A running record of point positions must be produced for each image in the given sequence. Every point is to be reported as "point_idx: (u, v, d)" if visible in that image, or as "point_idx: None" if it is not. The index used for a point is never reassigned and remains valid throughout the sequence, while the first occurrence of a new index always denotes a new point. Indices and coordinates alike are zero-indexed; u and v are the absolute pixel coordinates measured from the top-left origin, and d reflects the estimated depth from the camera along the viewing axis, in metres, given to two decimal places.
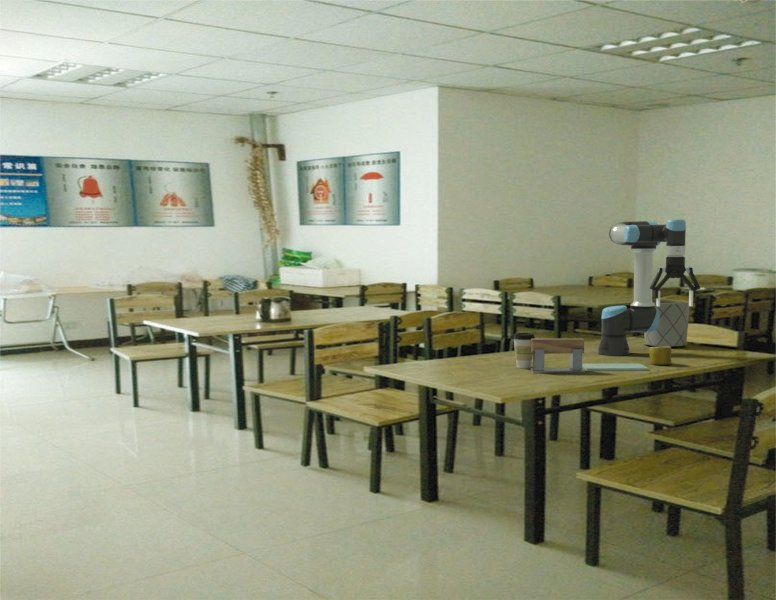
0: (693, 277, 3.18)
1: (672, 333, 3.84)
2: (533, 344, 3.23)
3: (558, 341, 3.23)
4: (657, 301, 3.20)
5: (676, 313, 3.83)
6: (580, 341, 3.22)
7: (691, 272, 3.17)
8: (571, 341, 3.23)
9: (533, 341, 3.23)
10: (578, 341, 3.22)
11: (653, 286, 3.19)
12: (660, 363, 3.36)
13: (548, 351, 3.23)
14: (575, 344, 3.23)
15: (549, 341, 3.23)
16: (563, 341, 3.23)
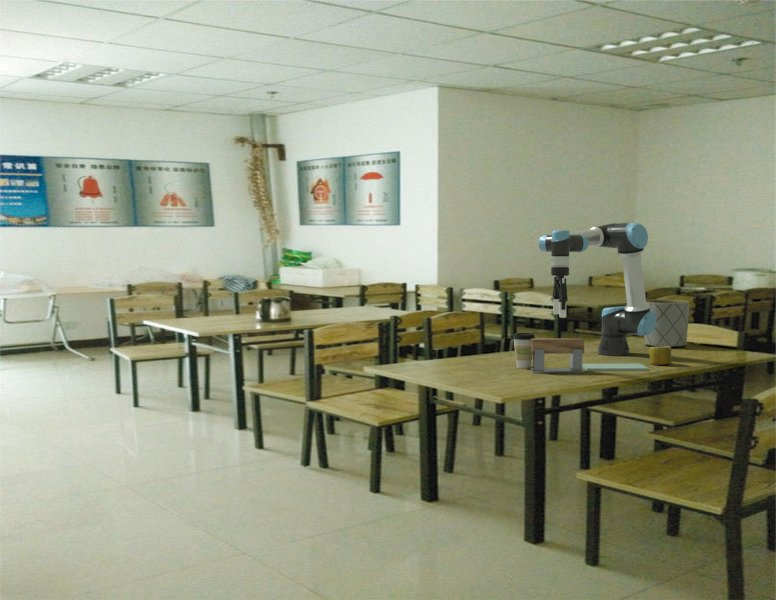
0: (560, 288, 3.16)
1: (672, 333, 3.84)
2: (533, 344, 3.23)
3: (558, 341, 3.23)
4: None
5: (676, 313, 3.83)
6: (580, 341, 3.22)
7: (560, 283, 3.16)
8: (571, 341, 3.23)
9: (533, 341, 3.23)
10: (578, 341, 3.22)
11: (553, 294, 3.32)
12: (660, 363, 3.36)
13: (548, 351, 3.23)
14: (575, 344, 3.23)
15: (549, 341, 3.23)
16: (563, 341, 3.23)
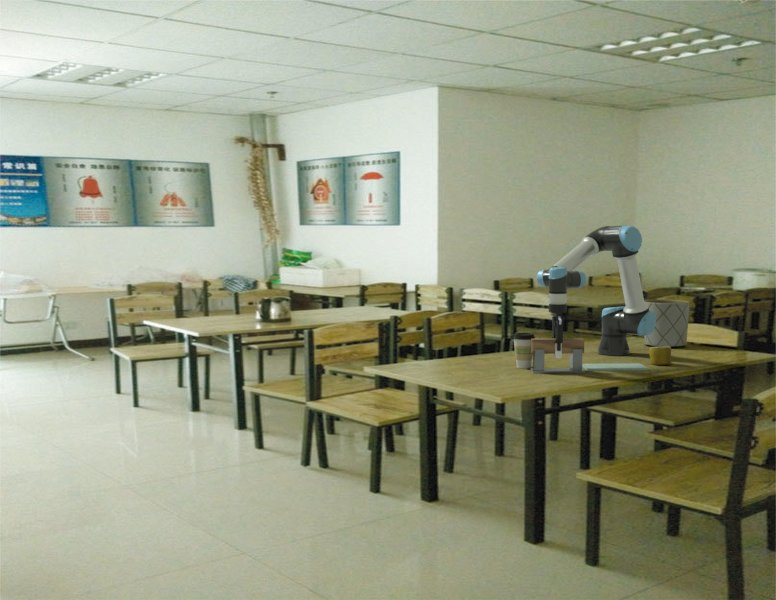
0: (556, 329, 3.19)
1: (672, 333, 3.84)
2: (533, 344, 3.23)
3: None
4: None
5: (676, 313, 3.83)
6: (580, 341, 3.22)
7: (557, 324, 3.19)
8: (571, 341, 3.23)
9: (533, 341, 3.23)
10: (578, 341, 3.22)
11: (552, 335, 3.30)
12: (660, 363, 3.36)
13: (548, 351, 3.23)
14: (575, 344, 3.23)
15: (549, 341, 3.23)
16: (563, 341, 3.23)
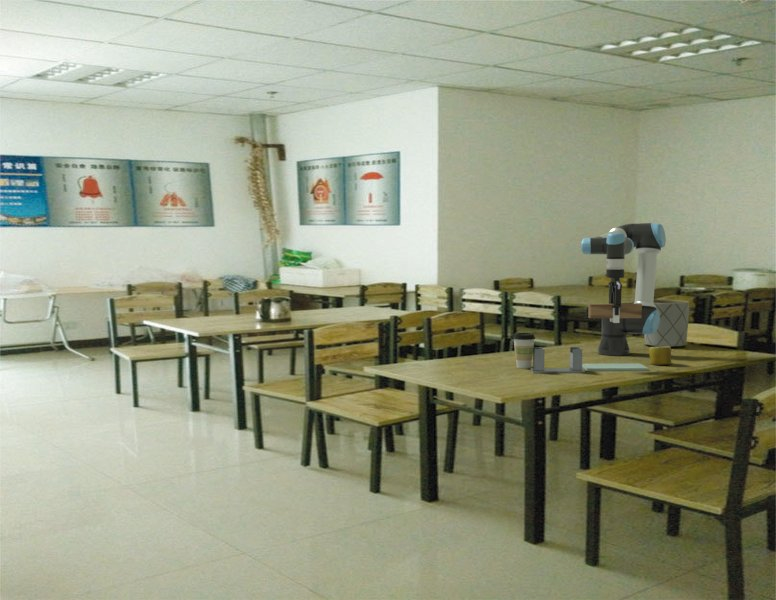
0: (615, 294, 3.24)
1: (672, 333, 3.84)
2: (591, 309, 3.28)
3: None
4: None
5: (676, 313, 3.83)
6: (637, 306, 3.27)
7: (615, 288, 3.23)
8: (629, 306, 3.27)
9: (591, 306, 3.28)
10: (636, 306, 3.27)
11: (609, 301, 3.34)
12: (660, 363, 3.36)
13: (605, 316, 3.28)
14: (633, 309, 3.27)
15: (607, 306, 3.28)
16: (621, 306, 3.27)
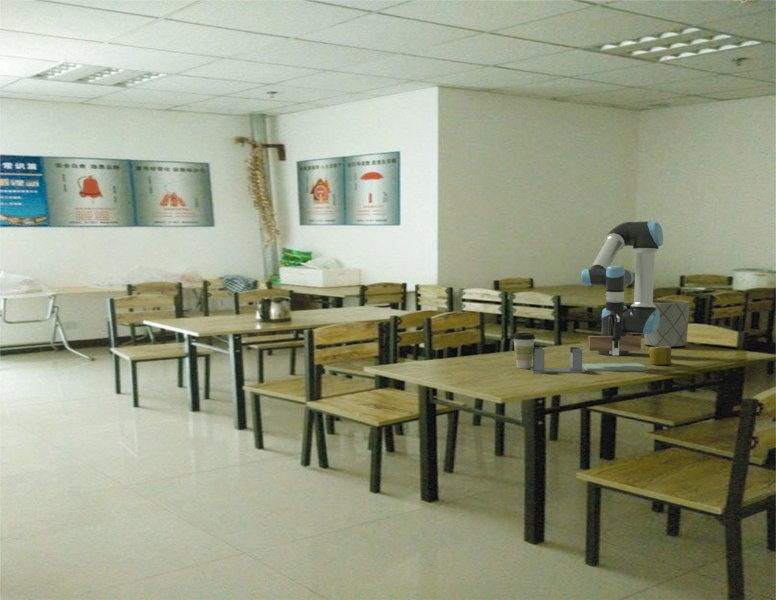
0: (614, 326, 3.25)
1: (672, 333, 3.84)
2: (591, 341, 3.29)
3: None
4: None
5: (676, 313, 3.83)
6: (637, 338, 3.28)
7: (615, 321, 3.25)
8: (628, 338, 3.28)
9: (591, 338, 3.29)
10: (635, 338, 3.28)
11: (608, 333, 3.36)
12: (660, 363, 3.36)
13: (605, 348, 3.29)
14: (632, 341, 3.28)
15: (606, 338, 3.29)
16: None
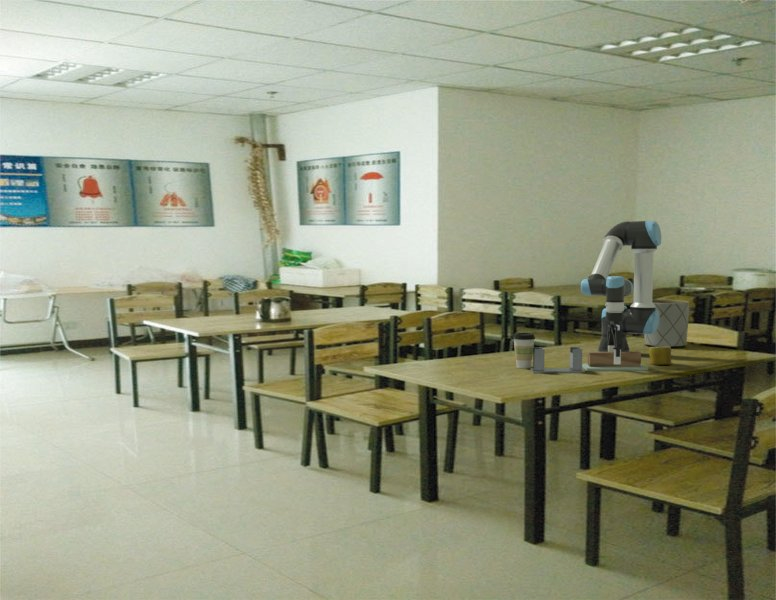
0: (615, 335, 3.24)
1: (672, 333, 3.84)
2: (591, 357, 3.30)
3: None
4: None
5: (676, 313, 3.83)
6: (637, 354, 3.29)
7: (615, 330, 3.24)
8: (628, 354, 3.29)
9: (591, 354, 3.30)
10: (635, 354, 3.29)
11: (607, 340, 3.39)
12: (660, 363, 3.36)
13: (605, 364, 3.30)
14: (632, 357, 3.29)
15: (606, 354, 3.29)
16: None
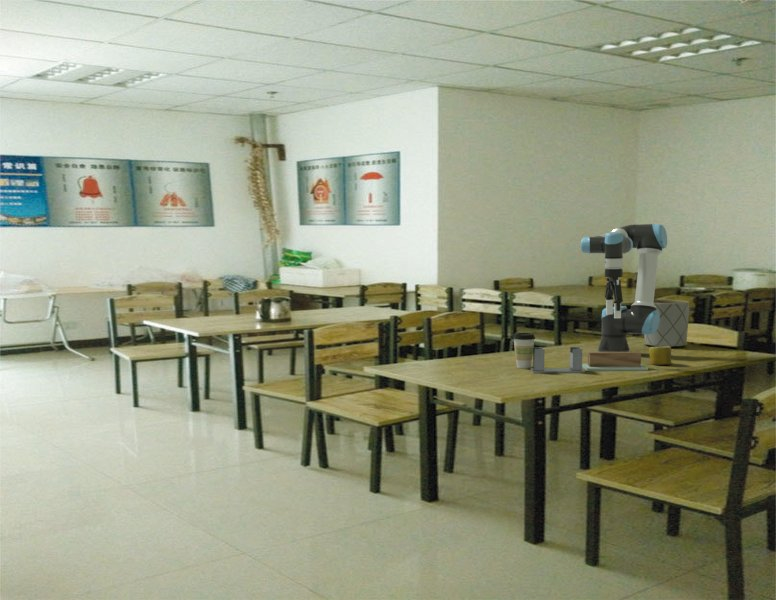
0: (615, 290, 3.24)
1: (672, 333, 3.84)
2: (591, 357, 3.30)
3: (615, 354, 3.29)
4: None
5: (676, 313, 3.83)
6: (637, 354, 3.29)
7: (614, 285, 3.25)
8: (628, 354, 3.29)
9: (591, 354, 3.30)
10: (635, 354, 3.29)
11: (605, 294, 3.41)
12: (660, 363, 3.36)
13: (605, 364, 3.30)
14: (632, 357, 3.29)
15: (606, 354, 3.29)
16: (620, 354, 3.29)
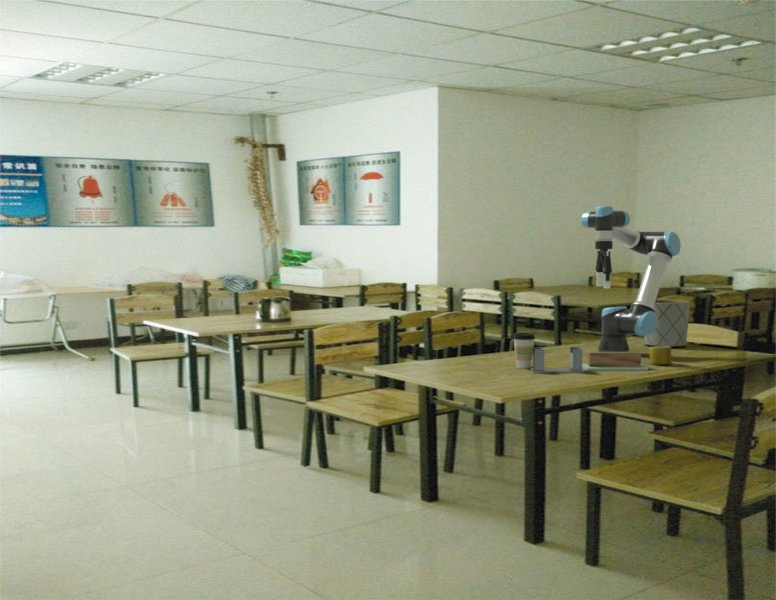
0: (604, 261, 3.34)
1: (672, 333, 3.84)
2: (591, 357, 3.30)
3: (615, 354, 3.29)
4: None
5: (676, 313, 3.83)
6: (637, 354, 3.29)
7: (604, 256, 3.34)
8: (628, 354, 3.29)
9: (591, 354, 3.30)
10: (635, 354, 3.29)
11: (596, 267, 3.50)
12: (660, 363, 3.36)
13: (605, 364, 3.30)
14: (632, 357, 3.29)
15: (606, 354, 3.29)
16: (620, 354, 3.29)
